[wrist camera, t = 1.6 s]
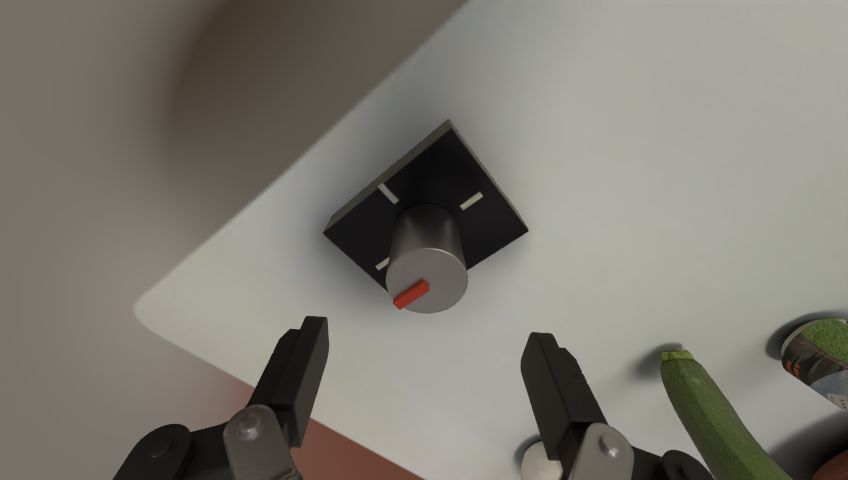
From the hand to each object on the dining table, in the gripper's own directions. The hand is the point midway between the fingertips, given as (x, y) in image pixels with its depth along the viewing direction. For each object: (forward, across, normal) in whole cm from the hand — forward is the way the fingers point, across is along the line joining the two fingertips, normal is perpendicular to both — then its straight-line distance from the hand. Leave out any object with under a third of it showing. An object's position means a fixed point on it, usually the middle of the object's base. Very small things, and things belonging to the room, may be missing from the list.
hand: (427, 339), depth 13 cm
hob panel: (+11, 0, 0) cm, 11 cm away
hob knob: (+8, 0, 0) cm, 8 cm away
